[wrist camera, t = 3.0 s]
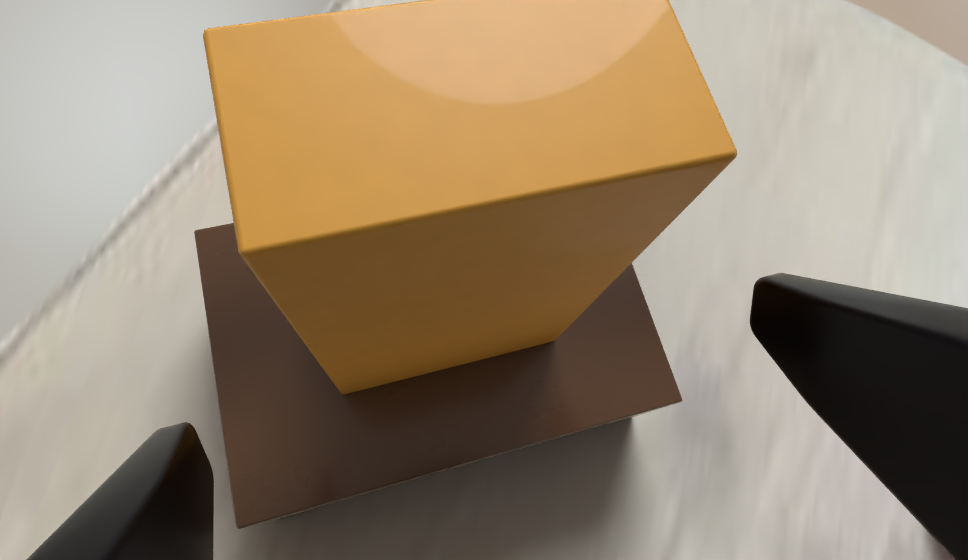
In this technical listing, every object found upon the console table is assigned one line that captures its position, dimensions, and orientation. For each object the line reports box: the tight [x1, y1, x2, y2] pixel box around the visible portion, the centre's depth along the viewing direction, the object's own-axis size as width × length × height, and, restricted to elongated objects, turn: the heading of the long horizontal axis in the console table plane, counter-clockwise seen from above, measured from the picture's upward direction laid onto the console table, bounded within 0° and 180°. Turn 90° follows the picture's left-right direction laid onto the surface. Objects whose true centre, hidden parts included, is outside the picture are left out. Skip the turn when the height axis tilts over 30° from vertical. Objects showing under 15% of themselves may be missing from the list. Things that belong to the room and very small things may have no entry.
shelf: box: [194, 223, 682, 529], centre depth 18 cm, size 8×12×4 cm, turn 106°
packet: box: [203, 0, 737, 394], centre depth 12 cm, size 3×6×10 cm, turn 106°
